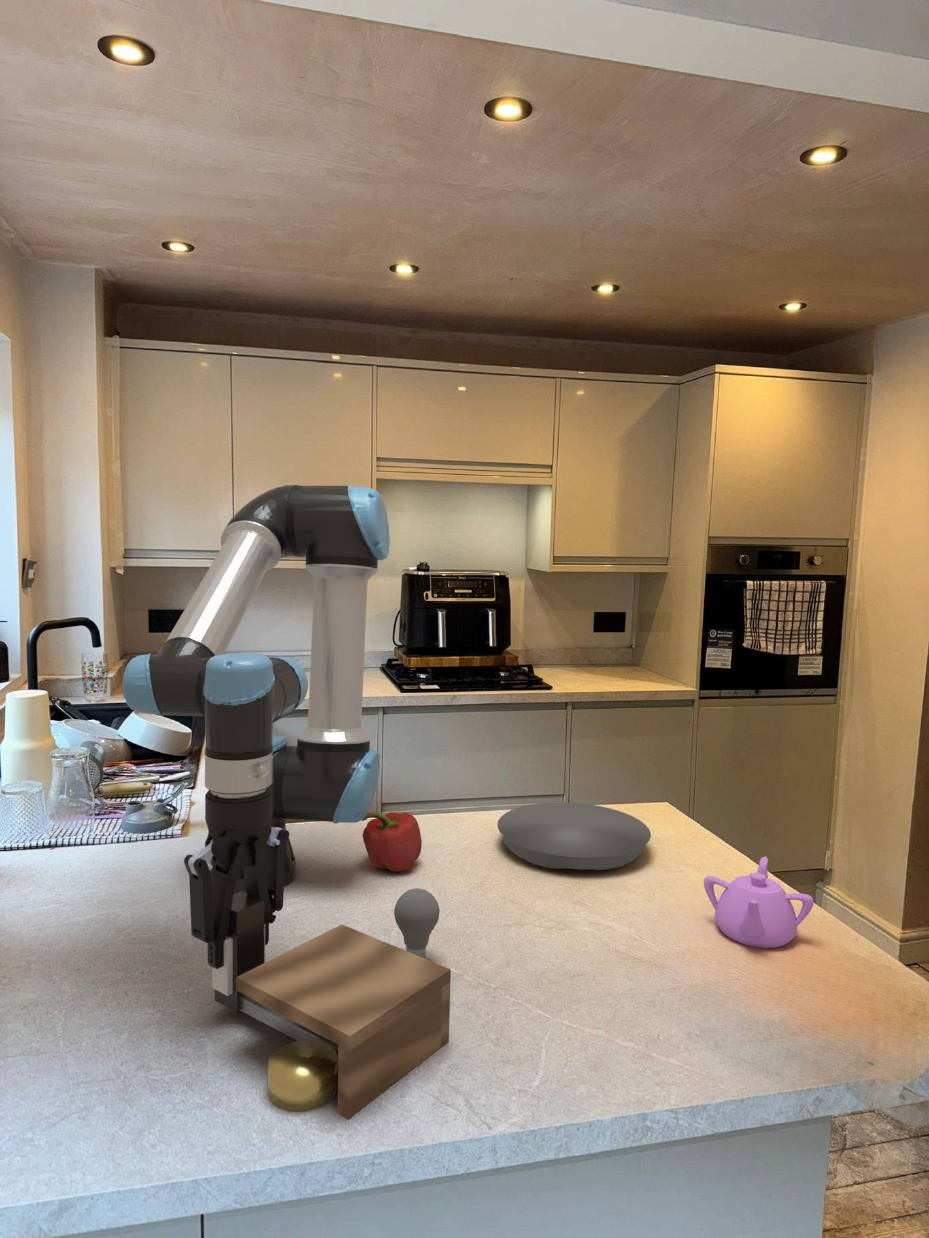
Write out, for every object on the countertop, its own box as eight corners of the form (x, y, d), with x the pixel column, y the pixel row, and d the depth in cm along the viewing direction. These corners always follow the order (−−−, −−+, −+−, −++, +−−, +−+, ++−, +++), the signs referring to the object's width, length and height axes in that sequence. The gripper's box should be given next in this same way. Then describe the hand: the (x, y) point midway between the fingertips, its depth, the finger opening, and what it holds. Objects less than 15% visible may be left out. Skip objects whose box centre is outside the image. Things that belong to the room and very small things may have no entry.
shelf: (236, 1051, 90) (236, 977, 89) (340, 989, 103) (341, 924, 102) (348, 1118, 80) (349, 1036, 79) (448, 1041, 93) (450, 969, 92)
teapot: (761, 909, 129) (765, 854, 128) (822, 952, 116) (826, 891, 115) (694, 916, 126) (697, 860, 125) (748, 961, 113) (753, 899, 112)
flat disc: (503, 819, 168) (504, 798, 168) (643, 829, 164) (644, 807, 164) (488, 875, 141) (489, 850, 140) (656, 889, 137) (657, 863, 136)
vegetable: (368, 883, 135) (369, 824, 134) (351, 860, 144) (352, 804, 143) (430, 874, 139) (432, 816, 138) (410, 852, 149) (411, 798, 148)
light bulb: (444, 956, 112) (446, 885, 111) (428, 977, 106) (430, 903, 105) (403, 948, 114) (405, 878, 113) (385, 968, 108) (387, 895, 107)
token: (253, 1092, 84) (253, 1064, 83) (304, 1058, 89) (304, 1031, 89) (301, 1121, 80) (301, 1092, 79) (351, 1084, 85) (352, 1056, 85)
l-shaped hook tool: (214, 1000, 97) (214, 902, 96) (241, 986, 100) (241, 891, 99) (352, 1073, 84) (354, 961, 83) (378, 1054, 88) (380, 946, 86)
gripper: (196, 814, 86) (197, 1026, 88) (316, 778, 100) (314, 963, 102) (153, 799, 90) (155, 1002, 93) (274, 767, 104) (273, 944, 106)
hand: (239, 981), depth 97 cm, fingers closed on l-shaped hook tool, 4 cm apart
